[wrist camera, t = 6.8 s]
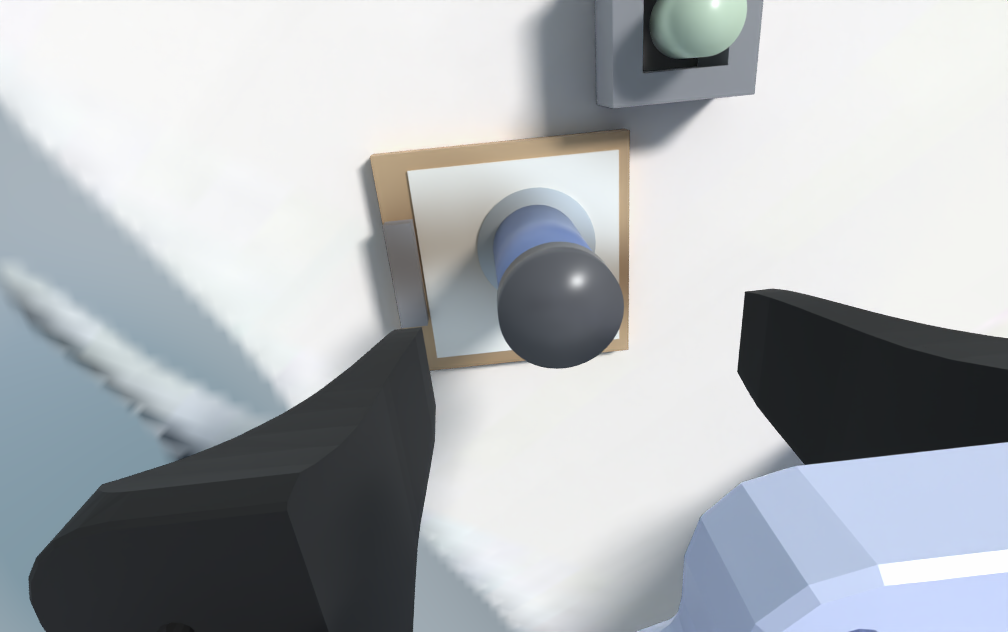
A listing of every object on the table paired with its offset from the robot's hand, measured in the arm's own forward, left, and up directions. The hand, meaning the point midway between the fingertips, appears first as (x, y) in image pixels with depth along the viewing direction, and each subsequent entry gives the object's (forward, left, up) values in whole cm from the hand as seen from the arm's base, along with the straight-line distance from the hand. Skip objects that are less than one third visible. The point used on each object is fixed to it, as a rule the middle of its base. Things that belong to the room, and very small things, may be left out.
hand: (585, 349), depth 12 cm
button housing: (+7, -4, -9) cm, 12 cm away
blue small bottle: (0, 0, -9) cm, 9 cm away
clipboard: (-1, +1, -9) cm, 10 cm away
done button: (+7, -4, -7) cm, 11 cm away
